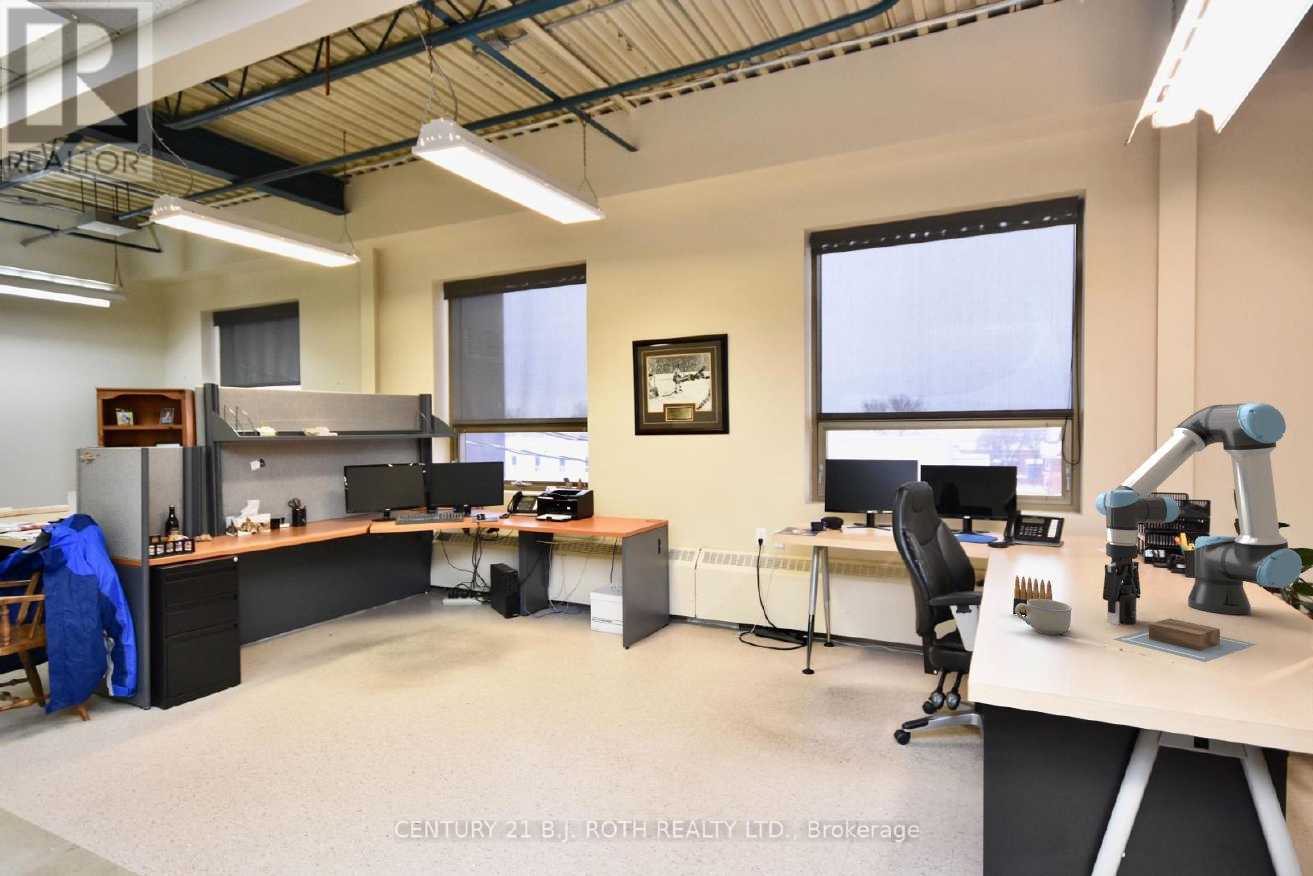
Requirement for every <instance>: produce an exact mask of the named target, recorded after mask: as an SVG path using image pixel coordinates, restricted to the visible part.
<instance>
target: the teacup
mask: <svg viewBox="0 0 1313 876" xmlns="http://www.w3.org/2000/svg"><path fill="white" fill-rule="evenodd" d="M1022 607H1024V608H1026V611H1027V617H1023V616H1022V615H1021V614H1020V609H1021V608H1022ZM1072 609H1073V608H1072V606H1071V605H1069V604H1067V603H1065V602H1061V601H1057V600H1054V599H1052V600H1046V599H1030V600H1028V601H1027V605H1026V604H1023V603H1021V604H1018V605H1017V606H1016V608H1015V612H1016V614H1017V615H1016V616H1017V617H1018V618H1019V619H1020V620H1022V621H1024V622H1025V624H1026V625H1028V626H1030V627H1031V628H1032V629H1033V630H1034V631H1035V632H1037V633H1040V634H1043V635H1047V636H1049V635H1050V636H1059V635H1062V634H1063V633H1066V632H1067V631H1068V630H1069V629H1070V627H1071V619H1072V617H1071V616H1072Z"/></svg>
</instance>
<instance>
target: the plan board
mask: <svg viewBox="0 0 1313 876" xmlns="http://www.w3.org/2000/svg"><path fill="white" fill-rule="evenodd" d="M1112 640H1115V641H1119V642H1122V643H1127V644H1131V645H1133V646H1139V647H1143V648H1146V649H1151V650H1154V651H1155V650H1156V651H1160V652H1163V653H1167V654H1171V655H1175V656H1179V657H1183V658H1188V659H1192V660H1196V661H1200V662H1203V663H1206V662H1209V661H1212V660H1215V659H1219V658H1220V657H1223V656H1227V655H1230V654H1233V653H1236V652H1238V651H1242V650H1244V649H1247V648H1250V647H1253V646H1256V645H1257V643H1253V642H1248V641H1245V640H1244V641H1243V640H1239V639H1234V638H1229V637H1224V636H1220V644H1219V645H1216V646H1213V647H1210V648H1207V649H1204V650H1200V651H1198V650H1193V649H1189V648H1185V647H1181V646H1176V645H1172V644H1168V643H1164V642H1159V641H1155V640H1151V639H1149V629H1146V630H1142V631H1139V632H1138V631H1137V632H1134V633H1131V634H1127V635H1123V636H1118V637H1117V638H1112Z"/></svg>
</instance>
